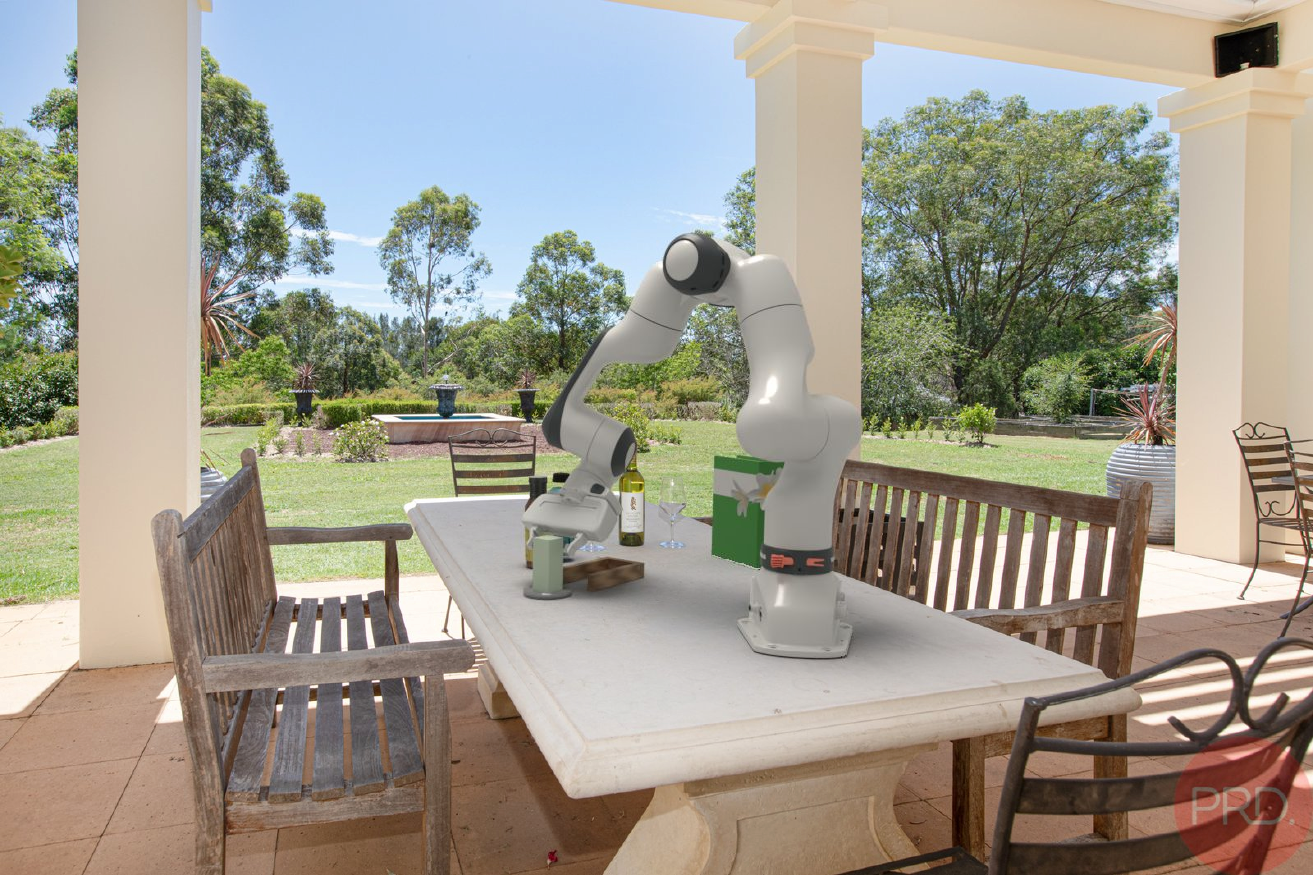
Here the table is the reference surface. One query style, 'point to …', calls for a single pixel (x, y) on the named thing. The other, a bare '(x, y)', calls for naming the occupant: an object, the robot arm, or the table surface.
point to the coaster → (546, 594)
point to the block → (547, 563)
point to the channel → (604, 572)
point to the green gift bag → (728, 528)
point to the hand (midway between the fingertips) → (548, 551)
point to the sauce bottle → (536, 489)
